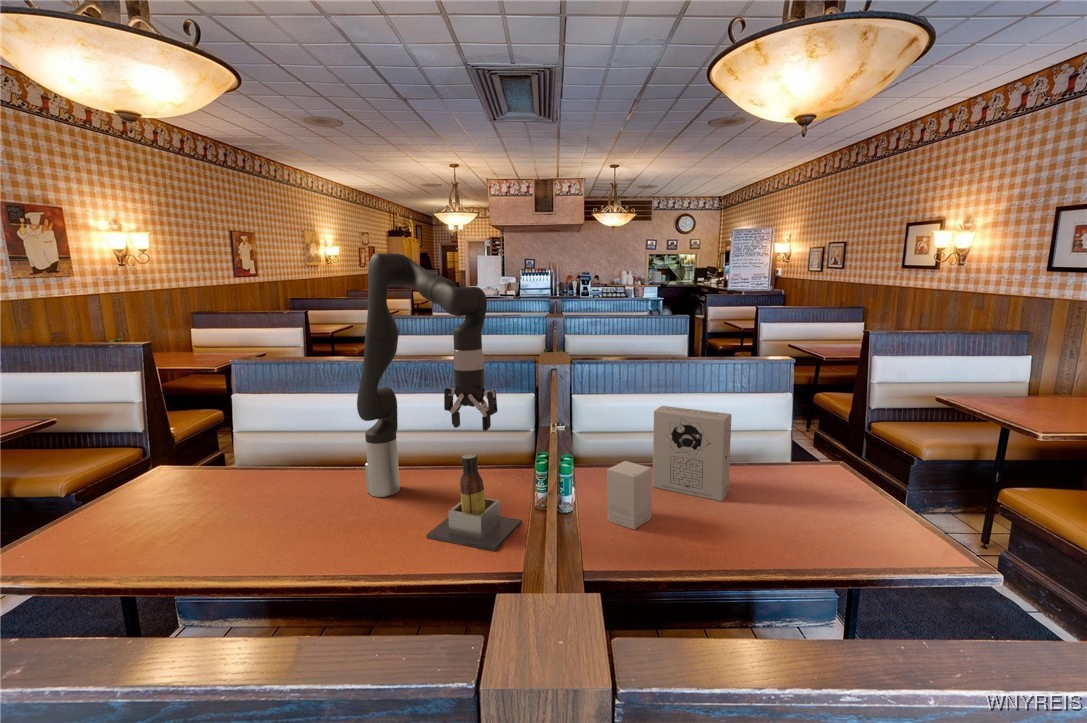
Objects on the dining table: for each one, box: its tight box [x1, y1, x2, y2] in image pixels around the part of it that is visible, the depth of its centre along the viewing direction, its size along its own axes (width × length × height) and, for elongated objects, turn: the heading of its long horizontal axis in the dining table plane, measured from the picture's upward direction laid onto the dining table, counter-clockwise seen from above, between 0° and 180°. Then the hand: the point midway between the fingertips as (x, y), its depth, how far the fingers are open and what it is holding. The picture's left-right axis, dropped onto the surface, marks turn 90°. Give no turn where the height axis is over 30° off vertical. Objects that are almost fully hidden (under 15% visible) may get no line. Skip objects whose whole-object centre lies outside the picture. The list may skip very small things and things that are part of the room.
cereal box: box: [652, 405, 732, 502], centre depth 164 cm, size 22×8×25 cm, turn 58°
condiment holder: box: [426, 497, 523, 552], centre depth 142 cm, size 20×16×7 cm
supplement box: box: [606, 460, 653, 531], centre depth 146 cm, size 9×9×15 cm
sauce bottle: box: [459, 452, 486, 515], centre depth 141 cm, size 6×6×20 cm
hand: (471, 428), depth 138 cm, fingers open, 8 cm apart
